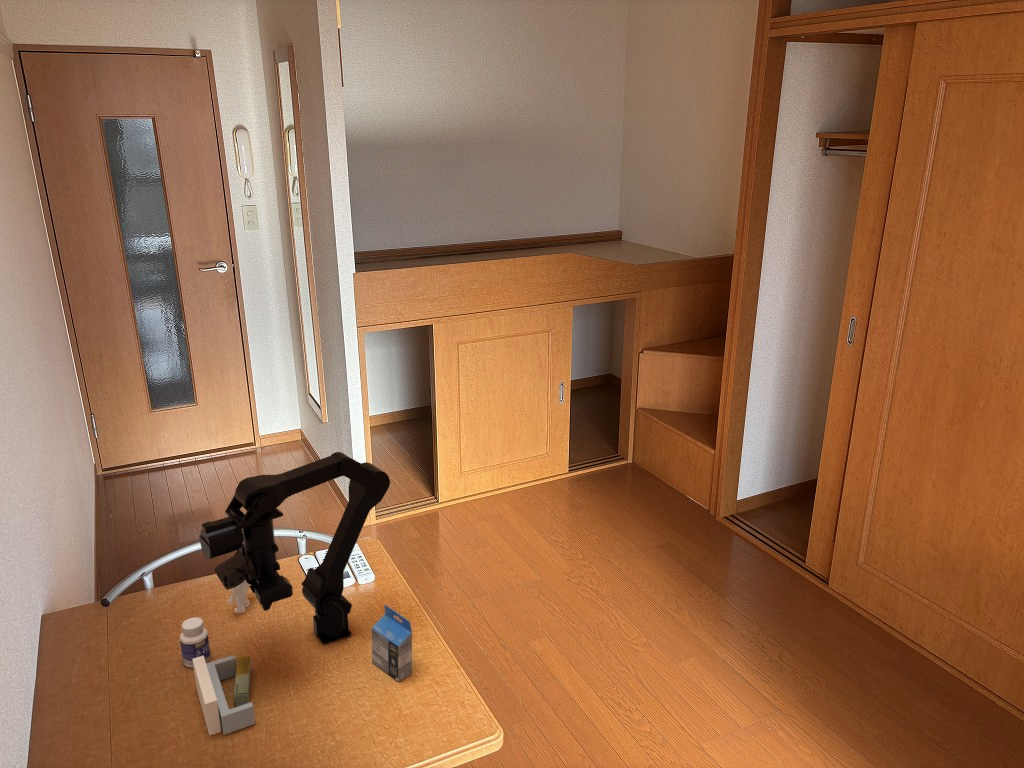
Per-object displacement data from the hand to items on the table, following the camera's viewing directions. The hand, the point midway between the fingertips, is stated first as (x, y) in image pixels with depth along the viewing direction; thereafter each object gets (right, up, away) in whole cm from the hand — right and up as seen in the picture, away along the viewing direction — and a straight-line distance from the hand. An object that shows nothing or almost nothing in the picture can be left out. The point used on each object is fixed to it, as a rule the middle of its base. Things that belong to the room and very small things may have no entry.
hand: (266, 609), depth 151 cm
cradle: (-3, -15, -8) cm, 17 cm away
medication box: (-3, -15, -5) cm, 16 cm away
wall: (-8, -16, -10) cm, 20 cm away
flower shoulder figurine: (-12, -6, +20) cm, 24 cm away
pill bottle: (-15, -12, +3) cm, 19 cm away
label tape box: (+25, -13, +2) cm, 28 cm away
